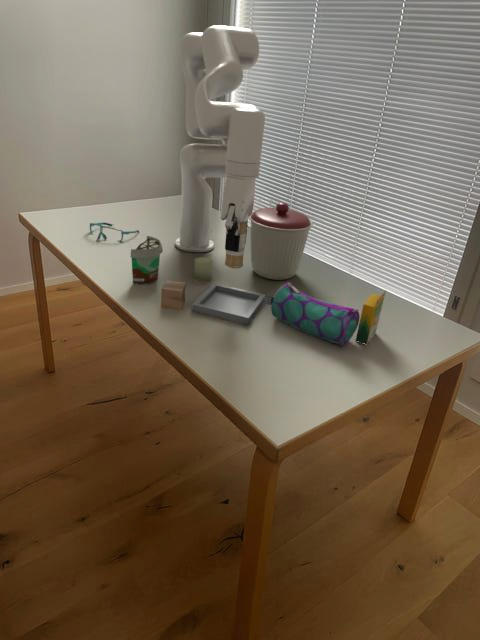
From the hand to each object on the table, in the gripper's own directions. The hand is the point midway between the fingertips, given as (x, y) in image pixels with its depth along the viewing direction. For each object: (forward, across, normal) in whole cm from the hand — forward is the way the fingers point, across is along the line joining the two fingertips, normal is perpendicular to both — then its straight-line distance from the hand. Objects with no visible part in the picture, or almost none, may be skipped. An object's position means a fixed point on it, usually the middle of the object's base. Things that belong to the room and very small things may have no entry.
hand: (235, 246), depth 118 cm
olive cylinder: (+16, -14, -13) cm, 25 cm away
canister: (+16, -27, +4) cm, 32 cm away
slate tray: (+16, 0, 0) cm, 16 cm away
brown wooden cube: (+16, +5, -13) cm, 21 cm away
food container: (+16, -5, -25) cm, 30 cm away
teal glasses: (+16, -31, -52) cm, 63 cm away
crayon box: (+16, -1, +34) cm, 38 cm away
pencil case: (+16, +2, +21) cm, 27 cm away
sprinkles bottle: (+5, 0, 0) cm, 5 cm away
